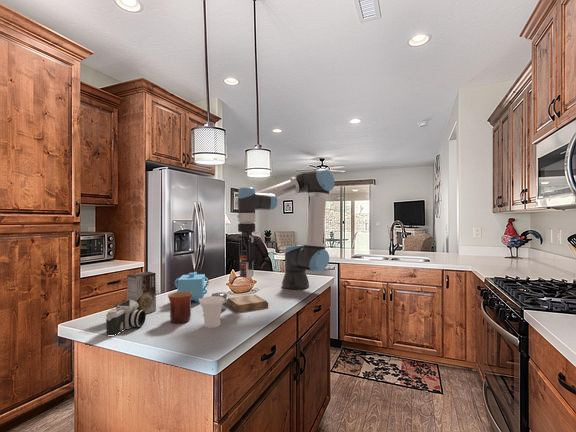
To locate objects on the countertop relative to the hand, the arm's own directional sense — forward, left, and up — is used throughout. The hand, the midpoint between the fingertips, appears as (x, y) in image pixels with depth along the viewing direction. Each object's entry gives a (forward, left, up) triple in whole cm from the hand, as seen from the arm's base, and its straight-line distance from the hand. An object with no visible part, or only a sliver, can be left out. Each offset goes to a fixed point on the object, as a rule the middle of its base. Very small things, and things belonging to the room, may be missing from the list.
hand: (246, 275), depth 137 cm
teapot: (+18, -25, -14) cm, 33 cm away
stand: (0, 0, -13) cm, 13 cm away
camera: (+47, +5, -14) cm, 49 cm away
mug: (+29, +4, -14) cm, 32 cm away
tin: (+12, -1, -13) cm, 18 cm away
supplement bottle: (0, 0, 0) cm, 0 cm away
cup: (+20, +17, -14) cm, 30 cm away
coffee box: (+41, -13, -14) cm, 45 cm away
